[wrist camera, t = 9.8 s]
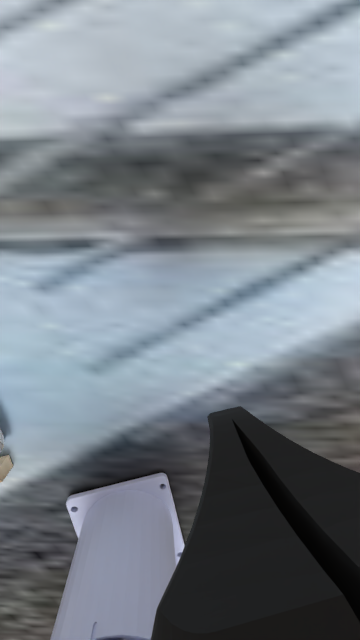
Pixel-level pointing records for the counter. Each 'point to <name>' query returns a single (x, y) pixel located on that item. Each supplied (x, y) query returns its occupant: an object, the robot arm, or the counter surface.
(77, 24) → the counter surface
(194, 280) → the counter surface
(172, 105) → the counter surface
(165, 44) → the counter surface
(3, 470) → the oak frame
